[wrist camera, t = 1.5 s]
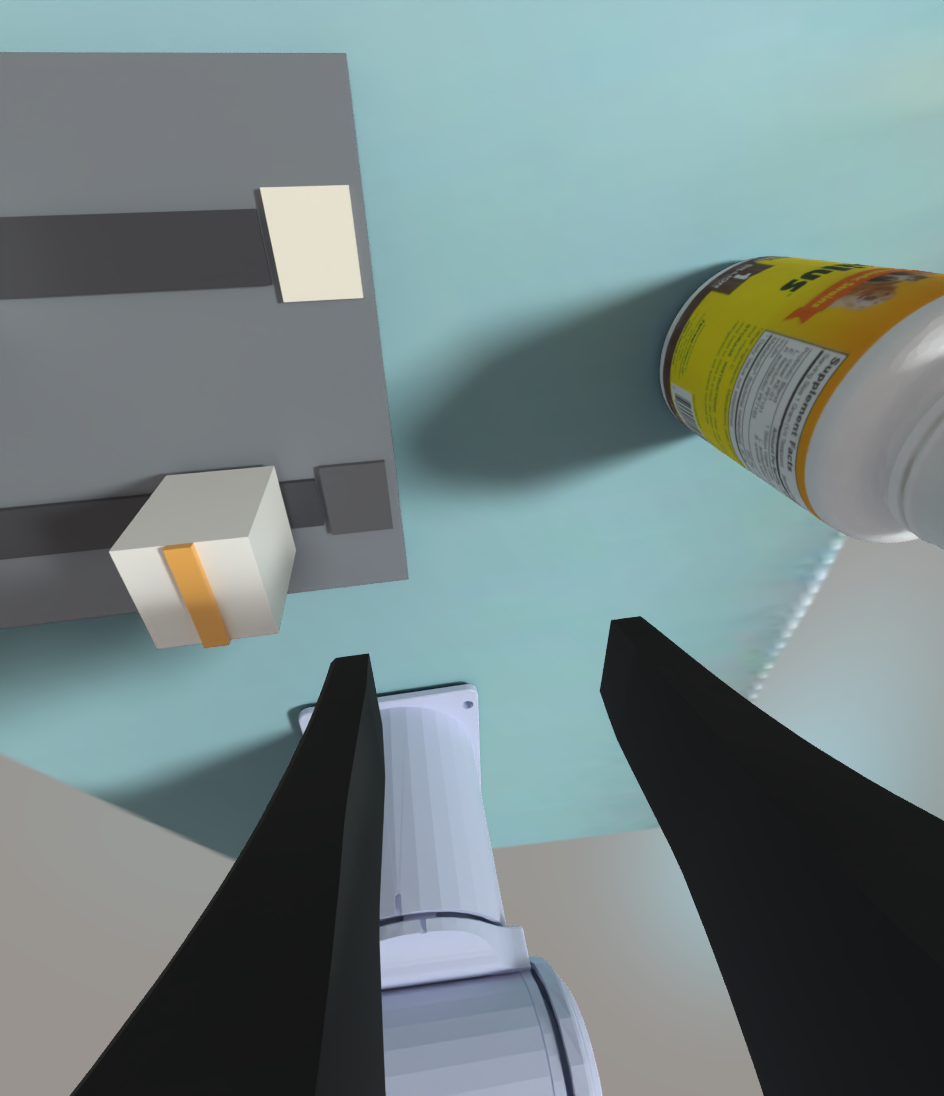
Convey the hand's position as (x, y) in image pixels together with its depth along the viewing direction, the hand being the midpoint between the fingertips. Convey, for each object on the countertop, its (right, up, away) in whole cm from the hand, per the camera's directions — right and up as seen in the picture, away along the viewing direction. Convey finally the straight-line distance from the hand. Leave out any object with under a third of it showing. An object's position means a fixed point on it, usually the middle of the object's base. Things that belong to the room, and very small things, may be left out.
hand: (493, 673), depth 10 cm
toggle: (-8, +3, +6) cm, 10 cm away
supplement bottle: (+8, +9, +7) cm, 14 cm away
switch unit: (-12, +7, +5) cm, 14 cm away
